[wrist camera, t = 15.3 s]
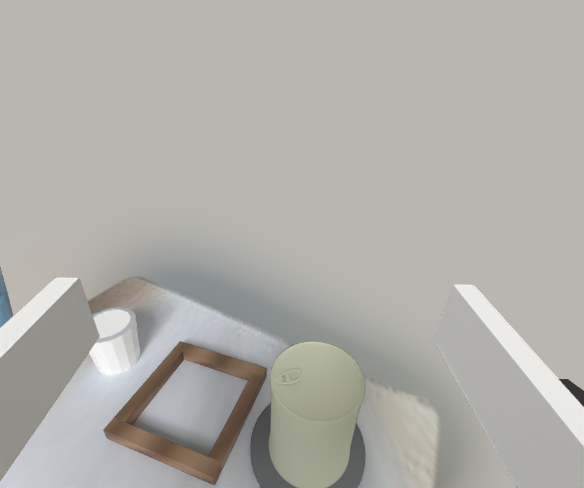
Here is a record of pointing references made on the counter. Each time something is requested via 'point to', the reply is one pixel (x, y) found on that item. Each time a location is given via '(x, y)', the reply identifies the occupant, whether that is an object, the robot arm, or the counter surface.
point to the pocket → (175, 453)
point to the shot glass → (115, 340)
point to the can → (313, 413)
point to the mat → (273, 481)
